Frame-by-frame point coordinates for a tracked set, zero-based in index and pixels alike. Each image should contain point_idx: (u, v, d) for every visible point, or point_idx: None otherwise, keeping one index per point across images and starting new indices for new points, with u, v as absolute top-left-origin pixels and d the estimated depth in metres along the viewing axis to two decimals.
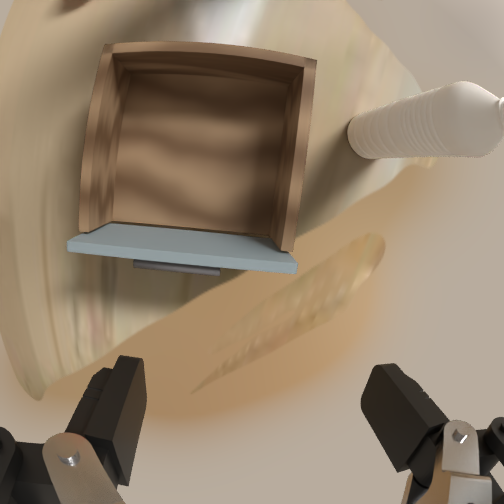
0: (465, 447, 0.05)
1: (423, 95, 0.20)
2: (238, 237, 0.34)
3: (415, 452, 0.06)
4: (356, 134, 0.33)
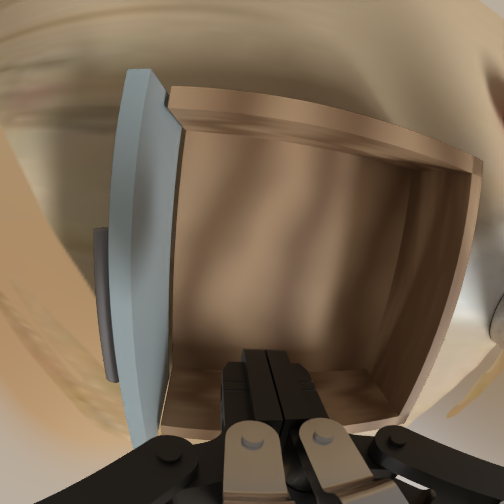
0: (320, 451, 0.05)
1: None
2: (165, 339, 0.22)
3: (281, 446, 0.07)
4: None
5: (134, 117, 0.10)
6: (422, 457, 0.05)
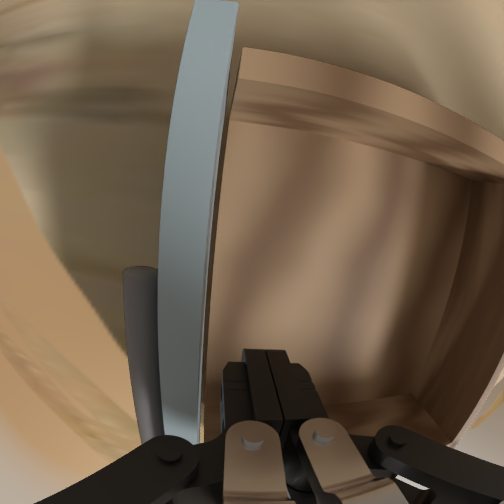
0: (320, 451, 0.05)
1: None
2: None
3: (281, 446, 0.07)
4: None
5: (211, 75, 0.05)
6: (422, 457, 0.05)
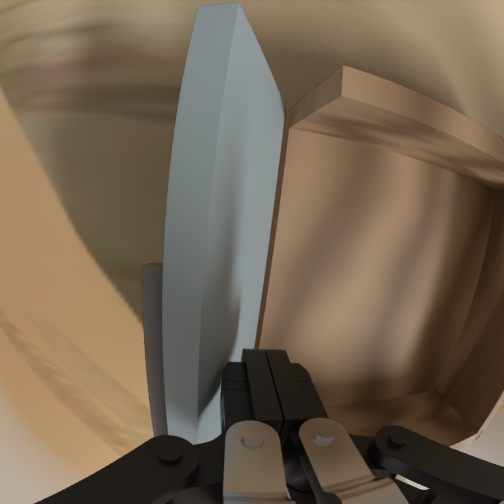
0: (320, 451, 0.05)
1: None
2: None
3: (281, 446, 0.07)
4: None
5: (211, 77, 0.05)
6: (422, 457, 0.05)
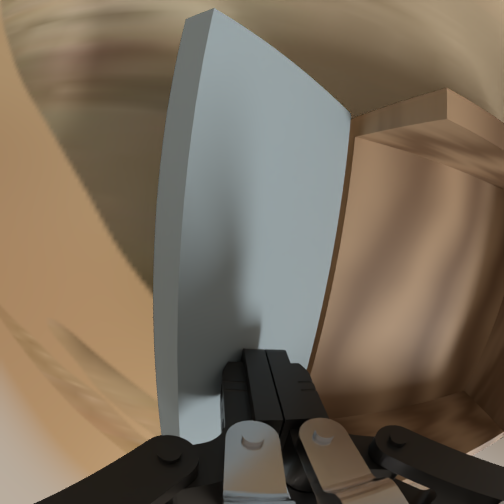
0: (320, 451, 0.05)
1: None
2: None
3: (281, 446, 0.07)
4: None
5: (190, 82, 0.06)
6: (422, 457, 0.05)
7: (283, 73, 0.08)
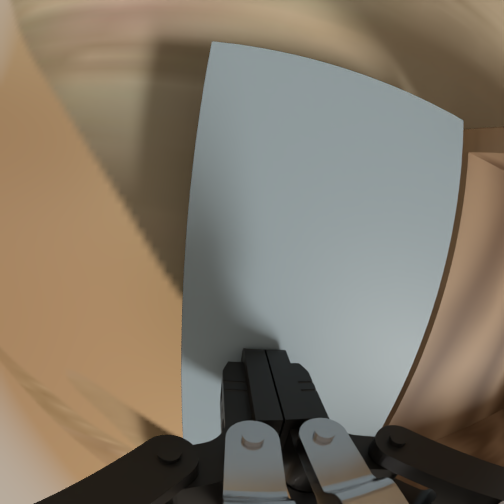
0: (320, 451, 0.05)
1: None
2: None
3: (281, 446, 0.07)
4: None
5: (201, 104, 0.08)
6: (422, 457, 0.05)
7: (316, 77, 0.08)
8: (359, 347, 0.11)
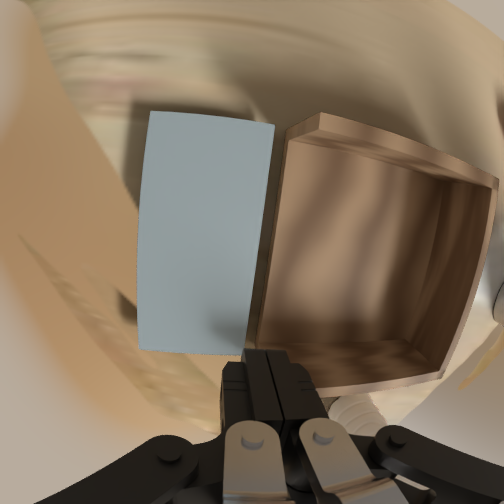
0: (320, 451, 0.05)
1: None
2: (234, 312, 0.27)
3: (281, 446, 0.07)
4: (359, 404, 0.32)
5: (147, 135, 0.22)
6: (422, 457, 0.05)
7: (190, 121, 0.22)
8: (217, 236, 0.25)
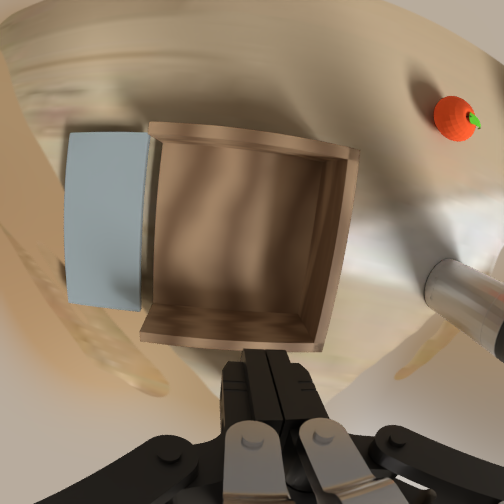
0: (320, 451, 0.05)
1: None
2: (128, 275, 0.34)
3: (281, 446, 0.07)
4: None
5: None
6: (422, 457, 0.05)
7: (93, 137, 0.29)
8: (112, 217, 0.32)
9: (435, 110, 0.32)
